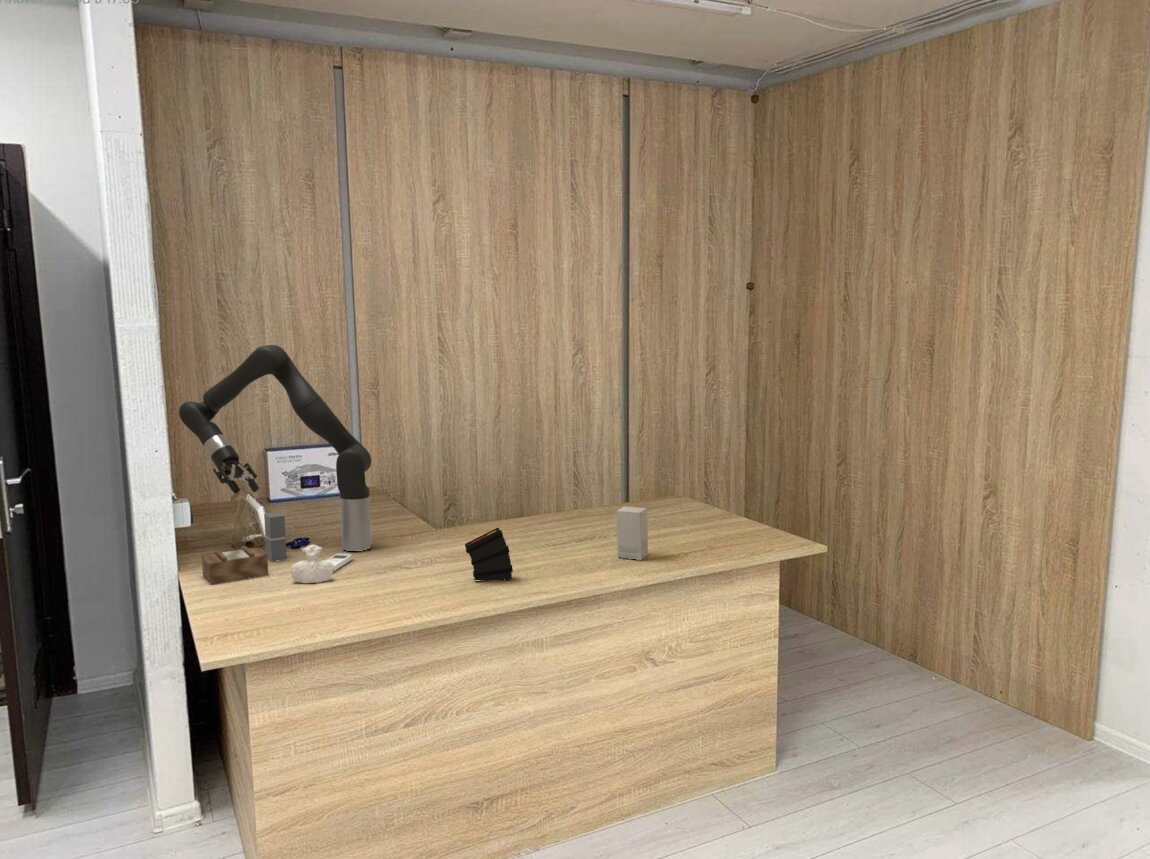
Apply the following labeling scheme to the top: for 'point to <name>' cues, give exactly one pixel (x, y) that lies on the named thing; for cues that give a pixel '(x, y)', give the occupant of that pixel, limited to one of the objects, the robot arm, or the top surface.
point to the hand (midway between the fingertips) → (247, 491)
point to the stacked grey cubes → (275, 536)
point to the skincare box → (632, 533)
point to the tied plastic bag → (312, 567)
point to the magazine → (490, 556)
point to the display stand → (234, 565)
